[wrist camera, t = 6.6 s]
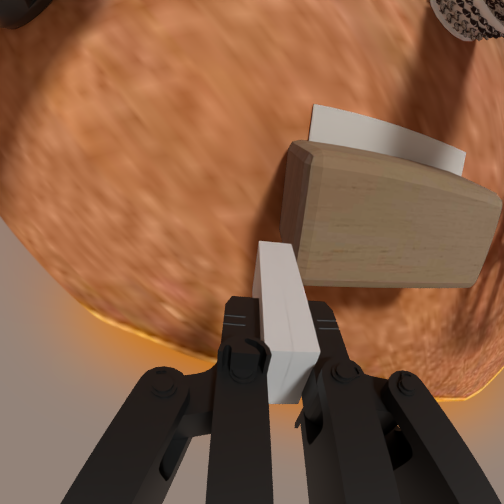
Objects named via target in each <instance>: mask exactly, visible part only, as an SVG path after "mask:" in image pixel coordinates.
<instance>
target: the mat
mask: <svg viewBox="0 0 504 504" xmlns="http://www.w3.org/2000/svg"><path fill="white" fill-rule="evenodd" d="M308 141H313V142H321V143H327V144H334V145H340V146H346V147H351V148H357V149H362V150H367V151H372V152H377V153H381V154H386V155H390V156H395V157H399V158H403V159H407V160H411V161H415V162H418V163H422V164H426V165H429V166H433V167H436V168H439V169H443V170H446V171H449V172H452V173H454V174H456V175H459V176H461V175H462V170H463V166H464V161H465V156H466V152H464V151H462V150H459V149H457V148H455V147H453V146H450V145H448V144H446V143H443V142H441V141H438V140H436V139H434V138H431V137H428V136H426V135H423V134H421V133H418V132H415V131H412V130H409V129H407V128H404V127H401V126H398V125H395V124H391V123H388V122H385V121H382V120H378V119H375V118H371V117H368V116H364V115H360V114H357V113H353V112H349V111H344V110H340V109H336V108H331V107H327V106H322V105H317V104H313V112H312V119H311V126H310V133H309V140H308Z"/></svg>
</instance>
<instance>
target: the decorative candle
mask: <svg viewBox="0 0 504 504" xmlns="http://www.w3.org/2000/svg"><path fill="white" fill-rule="evenodd" d="M430 4H431V7H432V9H433V11H434V13H435V15H436V17H437V18H438V19H439V21H440V22H441V23H442V25H443V26H444V27H445V28H446V29H447V30H448V31H449V32H450V33H451V34H452V35H454V36H455V37H457V38H459V39H461V40H463V41H474V39H475V38H476V39H477V40H478V41H480V40H482V37H484V38H485V39H486V40H488V37H489V38H492V37H494V38H496V39H497V38H498V37H501V36H502V37H503V38H504V0H430Z"/></svg>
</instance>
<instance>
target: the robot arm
mask: <svg viewBox="0 0 504 504" xmlns="http://www.w3.org/2000/svg"><path fill="white" fill-rule="evenodd" d="M51 1H52V0H0V28H6V29H16V28H19V27H21V26H23V25H25V24H26V23H28V22H29V21H31V20H32V19H33V18H35V17H36V16H37V15H38V14H39V13H40V12H42V11H43V10H44V9H45V8H46V7H47V6H48V5H49V4H50V3H51ZM301 396H302V400H303V409H302V411H301V413H300V415H299V416H298V418H297V420H296V422H295V428H298V427H299V425H300V423H301V431H302V440H303V449H304V457H305V467H306V476H307V486H308V496H309V504H501V502H500V500H499V499H498V497H497V495H496V493H495V491H494V489H493V488H492V486H491V484H490V483H489V481H488V479H487V477H486V476H485V474H484V472H483V471H482V469H481V467H480V466H479V464H478V463H477V461H476V460H475V458H474V457H473V455H472V453H471V452H470V450H469V448H468V447H467V445H466V444H465V442H464V441H463V439H462V438H461V436H460V435H459V433H458V432H457V430H456V429H455V427H454V426H453V424H452V423H451V422H450V420H449V419H448V417H447V416H446V414H445V413H444V411H443V410H442V409H441V407H440V406H439V404H438V403H437V402H436V400H435V399H434V397H433V396H432V395H431V393H430V392H429V390H428V389H427V388H426V386H425V385H424V384H423V382H422V381H421V380H420V379H419V378H418V377H417V376H416V375H415V374H413V373H411V372H408V371H403V370H402V371H396V372H395V373H393V374H392V375H391V376H390V378H389V379H383V378H378V377H373V376H369V375H366V374H364V372H363V371H362V369H361V367H360V366H359V365H357V364H356V363H355V362H354V361H351V360H350V359H349V356H348V353H347V350H346V347H345V344H344V342H343V339H342V336H341V333H340V330H339V327H338V324H337V322H336V319H335V316H334V313H333V310H332V309H331V308H330V307H329V306H328V305H327V304H326V303H325V302H321V301H307V298H306V294H305V291H304V287H303V283H302V280H301V276H300V273H299V269H298V266H297V262H296V259H295V255H294V252H293V248H292V245H291V244H287V243H277V242H266V241H259V244H258V251H257V259H256V266H255V274H254V281H253V289H252V298H250V297H238V296H232V297H231V298H230V299H229V300H228V302H227V303H226V304H225V313H224V321H223V330H222V339H221V344H220V347H219V349H218V360H217V363H216V364H215V365H214V366H213V367H212V368H211V369H209V370H207V371H206V372H202V373H198V374H192V375H183V373H182V372H180V371H178V370H176V369H174V368H170V367H165V366H164V367H155V368H153V369H151V370H148V371H147V372H146V373H145V374H144V375H143V376H142V377H141V378H140V379H139V381H138V382H137V384H136V385H135V387H134V389H133V390H132V392H131V393H130V394H129V396H128V398H127V399H126V401H125V402H124V404H123V405H122V407H121V408H120V410H119V411H118V413H117V414H116V416H115V417H114V419H113V420H112V422H111V424H110V425H109V427H108V428H107V430H106V431H105V433H104V434H103V436H102V438H101V439H100V441H99V442H98V444H97V445H96V447H95V449H94V450H93V452H92V453H91V455H90V456H89V458H88V460H87V461H86V463H85V465H84V466H83V468H82V469H81V471H80V472H79V474H78V476H77V477H76V479H75V481H74V482H73V484H72V486H71V487H70V489H69V490H68V492H67V494H66V495H65V497H64V499H63V500H62V502H61V504H162V503H163V501H164V499H165V496H166V494H167V492H168V490H169V488H170V486H171V483H172V481H173V479H174V477H175V475H176V473H177V470H178V468H179V466H180V464H181V462H182V459H183V457H184V455H185V453H186V450H187V448H188V446H189V444H190V442H191V439H192V437H195V436H201V435H206V434H211V440H210V452H209V465H208V478H207V491H206V504H273V485H272V484H273V481H272V460H271V441H270V421H269V404H298V403H299V400H300V398H301ZM397 425H398V426H399V427H400V428H399V427H398V426H397Z"/></svg>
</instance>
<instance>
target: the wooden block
mask: <svg viewBox="0 0 504 504" xmlns="http://www.w3.org/2000/svg"><path fill="white" fill-rule="evenodd" d="M501 210H502V200H501V199H500V198H499V196H498V195H497V194H496V193H495V192H493V191H491V190H489V189H487V188H485V187H483V186H481V185H479V184H476V183H474V182H472V181H470V180H468V179H466V178H463V177H461V176H459V175H456V174H454V173H452V172H449V171H446V170H443V169H439V168H436V167H433V166H429V165H426V164H422V163H418V162H415V161H411V160H407V159H403V158H399V157H395V156H390V155H386V154H381V153H377V152H372V151H367V150H362V149H357V148H351V147H346V146H340V145H334V144H327V143H321V142H313V141H306V140H297V141H294V142H292V143H291V145H290V147H289V148H288V155H287V165H286V174H285V184H284V193H283V202H282V210H281V219H280V227H279V230H280V234H281V239H282V243H287V244H291V245H292V248H293V252H294V255H295V259H296V262H297V266H298V269H299V273H300V276H301V280H302V283H303V285H306V286H334V287H372V288H470V287H471V286H473V285H474V283H475V282H476V281H477V278H478V276H479V274H480V271H481V269H482V266H483V264H484V261H485V259H486V256H487V253H488V251H489V248H490V245H491V242H492V239H493V236H494V233H495V230H496V227H497V224H498V220H499V217H500V214H501Z"/></svg>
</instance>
